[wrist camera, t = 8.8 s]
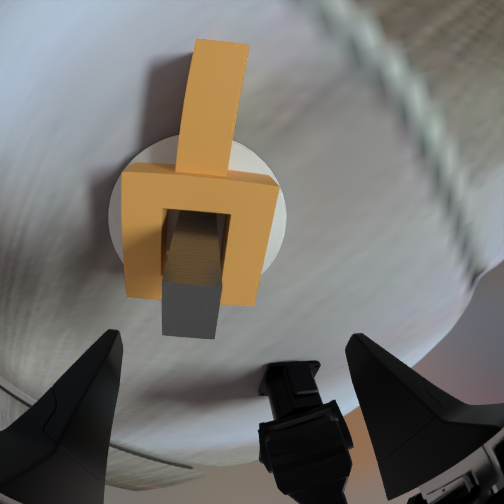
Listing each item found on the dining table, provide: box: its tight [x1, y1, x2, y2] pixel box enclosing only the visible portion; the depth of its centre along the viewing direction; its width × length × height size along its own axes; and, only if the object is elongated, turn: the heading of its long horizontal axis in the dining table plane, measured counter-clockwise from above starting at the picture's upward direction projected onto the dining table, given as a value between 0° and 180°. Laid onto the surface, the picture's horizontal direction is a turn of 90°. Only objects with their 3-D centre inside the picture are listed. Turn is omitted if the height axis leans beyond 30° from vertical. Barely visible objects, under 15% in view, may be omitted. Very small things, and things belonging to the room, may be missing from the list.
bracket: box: [108, 39, 286, 306], centre depth 17 cm, size 19×13×4 cm
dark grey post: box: [162, 210, 223, 339], centre depth 15 cm, size 3×2×9 cm
